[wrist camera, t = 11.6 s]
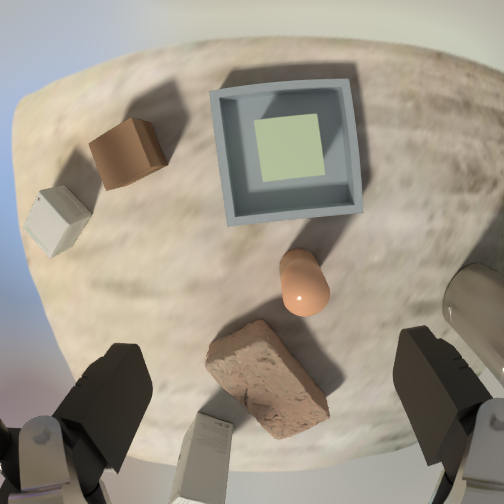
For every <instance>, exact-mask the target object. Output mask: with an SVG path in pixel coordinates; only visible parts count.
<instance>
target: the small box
mask: <svg viewBox="0 0 504 504" xmlns="http://www.w3.org/2000/svg"><path fill="white" fill-rule="evenodd" d="M91 216H92V213H91V212H90V211H89V210H88V209H87V208H86V207H85V206H84V205H83V204H82V203H81V202H80V201H79V200H78V199H77V198H76V197H75V196H74V195H73V194H72V193H71V192H70V190H69V189H68V188H67V187H66V186H65V185H61V186H57V187H53V188H48V189H44V190H40V191H39V193H38V195H37V197H36V199H35V201H34V203H33V206H32V208H31V210H30V212H29V215H28V217H27V219H26V222H25V224H24V227H23V228H24V229H25V230H26V232H27V233H28V234H29V235H30V236H31V238H32V239H33V240H34V241H35V242H36V243H37V244H38V246H39V247H40V248H41V249H42V250H43V251H44V252H45V254H46V255H47V256H48V257H49V258H50V259H51V258H53V257H55V256H57V255H59V254H60V253H62V252H64V251H66V250H67V249H69V248H71V247H72V246H73V245H74V243H75V242H76V240H77V238H78V237H79V235H80V234H81V232H82V230H83V229H84V227H85V226H86V224H87V223H88V221H89V219H90V218H91Z"/></svg>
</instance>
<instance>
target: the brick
mask: <svg viewBox="0 0 504 504" xmlns="http://www.w3.org/2000/svg"><path fill="white" fill-rule="evenodd" d="M206 357H207V360H206V364H205V367H206V369H207V371H208V372H209V373H210V374H211V375H212V376H213V378H214V379H215V380H216V381H217V382H218V383H219V384H220V385H221V386H222V387H223V388H224V389H225V390H226V391H227V392H228V393H230V394H231V395H232V396H233V397H234V398H235V399H237V400H238V401H240V403H241V404H242V405H243V406H244V407H246V408H247V410H248V411H249V413H250V414H251V415H253V417H255V418H256V420H257V421H258V422H259V423H260V424H261V425H262V427H263V428H264V429H265V430H266V431H267V432H268V433H269V434H271V435H272V436H273V437H274V438H275V439H284V438H287V437H291V436H293V435H296V434H298V433H300V432H303V431H305V430H308V429H309V428H311V427H313V426H315V425H317V424H318V423H320V422H322V421H325V420H327V419H329V417H330V414H329V410H328V409H329V407H328V405H327V400H326V396H325V394H324V393H323V392H322V391H321V389H320V388H319V387H318V386H316V385H315V384H314V380H313V379H312V378H311V377H310V376H309V375H308V374H307V372H306V371H305V370H304V369H303V367H302V366H301V365H299V363H298V361H297V360H296V359H295V358H294V357H293V356H292V355H291V353H290V352H289V351H288V350H287V349H286V348H285V347H284V345H283V344H282V342H281V341H280V339H279V338H278V336H277V335H276V333H275V332H274V331H273V330H272V329H271V328H270V327H269V325H268V324H267V323H266V322H265V321H263V320H261V319H259V320H256V321H254V322H250V323H248V324H247V325H246V326H244V327H243V328H241V329H240V330H238V331H236V332H233V333H232V334H229V335H227V336H225V337H221V338H218V339H217V340H216V341H214V342H212V343H211V344H210V345H209V351H208V352H207V355H206Z"/></svg>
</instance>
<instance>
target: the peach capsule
mask: <svg viewBox="0 0 504 504" xmlns="http://www.w3.org/2000/svg"><path fill="white" fill-rule="evenodd" d="M280 277H281V286H282V295H283V302H284V304H285V306H286V308H287V309H288V310H289V311H290V312H292V313H293V314H295V315H298V316H311V315H314V314H317V313H318V312H320V311H321V310H322V309H324V307H325V306H326V305H327V303H328V301H329V297H330V289H329V286H328V284H327V282H326V280H325V277H324V275H323V273H322V271H321V269H320V267H319V264H318V262H317V260H316V258H315V256H314V255H313V254H312V253H311V252H310V251H308V250H305V249H300V248H298V249H293V250H290V251H289V252H287V253H286V254H285V255H284V256H283V257H282V259H281V261H280Z"/></svg>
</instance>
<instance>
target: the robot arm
mask: <svg viewBox="0 0 504 504" xmlns="http://www.w3.org/2000/svg"><path fill="white" fill-rule="evenodd" d="M443 315H444V318H445V320H446V321H447V322H448V324H449V325H450V326H451V327H452V328H453V329H454V330H455V331H456V332H457V333H458V334H459V336H460V337H461V338H462V339H463V340H464V341H465V342H466V344H467V345H468V346H469V347H470V348H471V349H472V350H473V351H474V353H475V354H476V355H477V356H478V357H479V358H480V360H481V361H482V362H483V363H484V364H485V365H486V367H487V368H488V369H489V370H490V371H491V373H492V374H493V375H494V376H495V377H496V379H497V380H498V381H499V382H500V384H501V385H502V386H503V387H504V276H503V275H502V274H500V273H498V272H497V271H495V270H491V269H490V268H488V267H486V266H485V265H483V264H478V263H476V264H471V265H469V266H466V267H465V268H464V269H462V270H461V271H460V272H459V273H458V274H457V275H456V276H455V277H454V278H453V280H452V281H451V283H450V285H449V286H448V288H447V291H446V293H445V296H444V300H443ZM393 382H394V386H395V389H396V391H397V393H398V395H399V398H400V400H401V402H402V404H403V407H404V409H405V411H406V414H407V416H408V418H409V420H410V423H411V425H412V428H413V430H414V432H415V435H416V437H417V440H418V442H419V444H420V447H421V449H422V452H423V455H424V457H425V460H426V462H427V465H428V466H430V465H433V464H436V463H439V462H442V464H443V466H444V469H443V471H442V472H441V475H440V477H439V480H438V482H437V485H436V487H435V490H434V492H433V494H432V497H431V499H430V501H429V503H428V504H504V398H494V399H493V397H492V396H491V395H490V393H489V392H488V391H487V389H486V388H485V386H484V385H483V384H482V382H481V381H480V379H479V378H478V377H477V375H476V374H475V373H474V371H473V370H472V369H471V368H470V367H468V364H467V362H466V361H465V360H464V359H462V356H461V355H460V353H459V352H458V351H457V350H456V348H455V347H454V346H453V345H451V344H449V343H448V342H446V341H445V340H443V339H441V338H440V339H437V338H436V337H435V336H434V335H433V333H432V332H431V331H430V329H429V328H428V327H427V326H425V325H423V326H418V327H412V328H406V329H402V330H401V332H400V335H399V341H398V347H397V352H396V357H395V362H394V367H393ZM152 393H153V386H152V381H151V378H150V375H149V372H148V369H147V367H146V364H145V361H144V358H143V355H142V352H141V349H140V347H139V346H138V345H137V344H127V343H114V344H113V345H112V346H111V347H110V348H109V350H108V351H107V352H106V354H105V355H104V356H103V357H100V358H99V359H98V360H96V361H95V362H93V363H92V364H91V365H89V367H88V368H87V369H86V370H85V372H84V373H83V374H82V378H79V380H78V381H77V382H76V384H75V386H73V388H72V389H71V390H70V392H69V393H68V395H67V396H66V397H65V399H64V400H63V401H62V403H61V404H60V405H59V407H58V408H57V410H56V411H55V412H54V414H53V415H52V416H38V417H35V418H33V419H31V420H29V421H28V422H27V423H26V424H25V425H24V426H23V427H22V428H7V427H6V426H5V425H4V423H3V422H2V420H1V419H0V473H1V474H2V475H3V476H4V477H5V478H6V479H5V481H4V482H3V484H2V486H1V488H0V504H111V501H110V498H109V496H108V493H107V490H106V487H105V485H104V482H103V480H102V479H101V475H102V473H103V471H106V472H110V473H113V474H118V473H119V471H120V468H121V466H122V463H123V461H124V459H125V457H126V454H127V452H128V450H129V447H130V445H131V443H132V441H133V438H134V436H135V434H136V432H137V429H138V427H139V425H140V423H141V420H142V418H143V416H144V414H145V411H146V409H147V407H148V405H149V403H150V400H151V398H152Z"/></svg>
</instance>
